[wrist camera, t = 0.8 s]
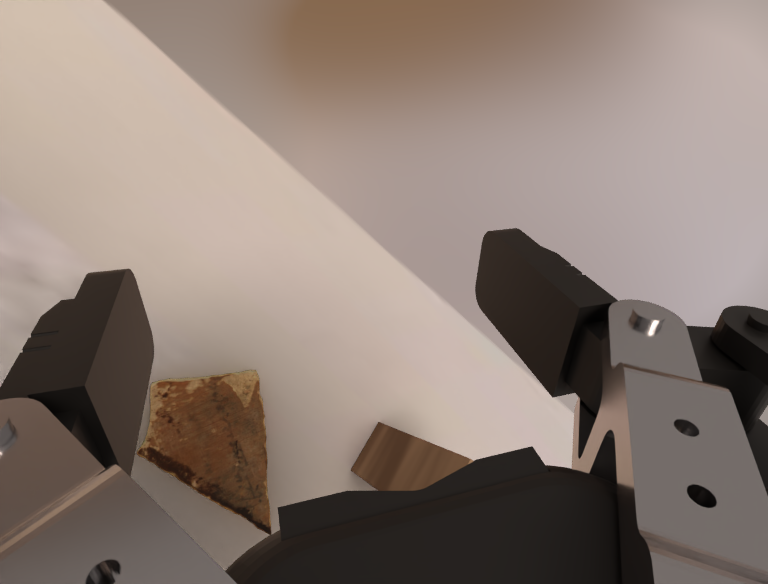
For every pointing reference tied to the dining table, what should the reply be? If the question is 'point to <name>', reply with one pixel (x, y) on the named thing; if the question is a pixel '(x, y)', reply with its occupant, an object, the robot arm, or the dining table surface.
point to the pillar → (404, 461)
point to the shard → (213, 440)
